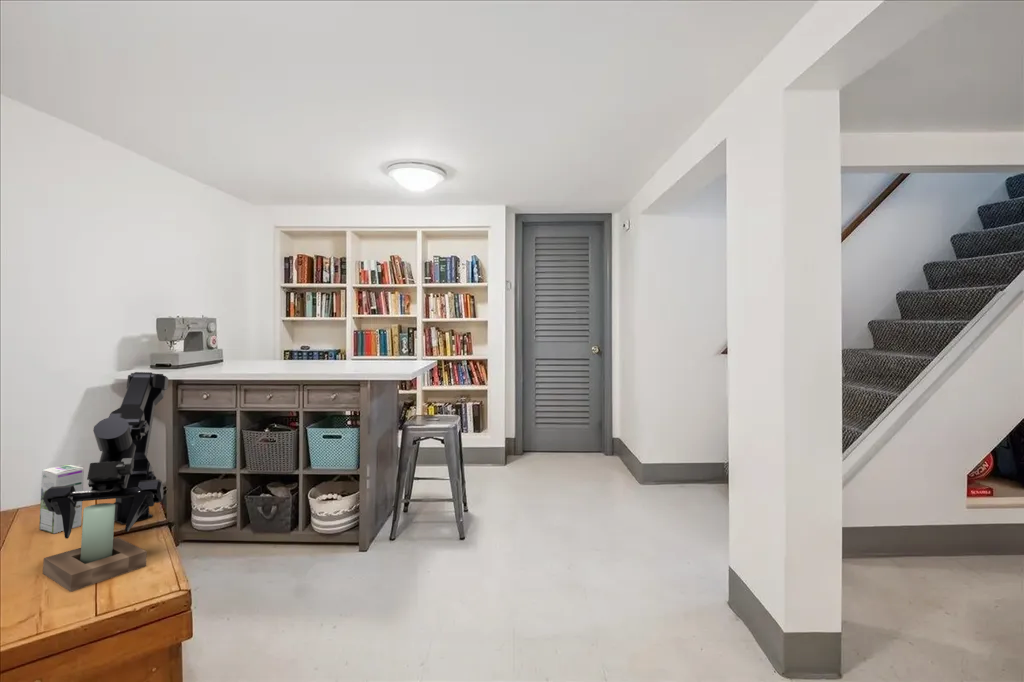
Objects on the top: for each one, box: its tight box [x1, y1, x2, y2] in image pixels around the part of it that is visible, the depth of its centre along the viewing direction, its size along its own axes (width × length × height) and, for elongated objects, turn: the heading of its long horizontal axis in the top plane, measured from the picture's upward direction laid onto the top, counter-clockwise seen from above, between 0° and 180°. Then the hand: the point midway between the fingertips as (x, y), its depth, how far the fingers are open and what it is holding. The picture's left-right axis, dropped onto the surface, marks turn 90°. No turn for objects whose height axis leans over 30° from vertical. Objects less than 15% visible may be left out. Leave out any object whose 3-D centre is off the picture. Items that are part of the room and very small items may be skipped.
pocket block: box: [42, 536, 148, 593], centre depth 94 cm, size 12×12×4 cm
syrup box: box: [38, 464, 85, 534], centre depth 113 cm, size 6×6×14 cm
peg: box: [80, 502, 115, 564], centre depth 94 cm, size 5×5×12 cm
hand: (97, 534), depth 94 cm, fingers open, 9 cm apart
